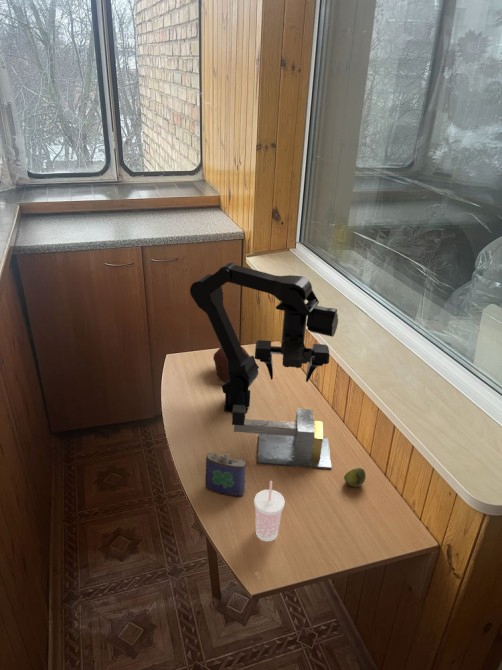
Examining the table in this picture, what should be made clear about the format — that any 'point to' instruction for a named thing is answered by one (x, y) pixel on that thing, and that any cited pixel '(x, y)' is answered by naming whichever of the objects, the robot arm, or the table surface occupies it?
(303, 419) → the block
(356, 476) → the lime
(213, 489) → the flask
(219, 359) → the muffin
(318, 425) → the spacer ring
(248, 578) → the table surface
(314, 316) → the robot arm
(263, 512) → the beverage cup
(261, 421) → the shaft
